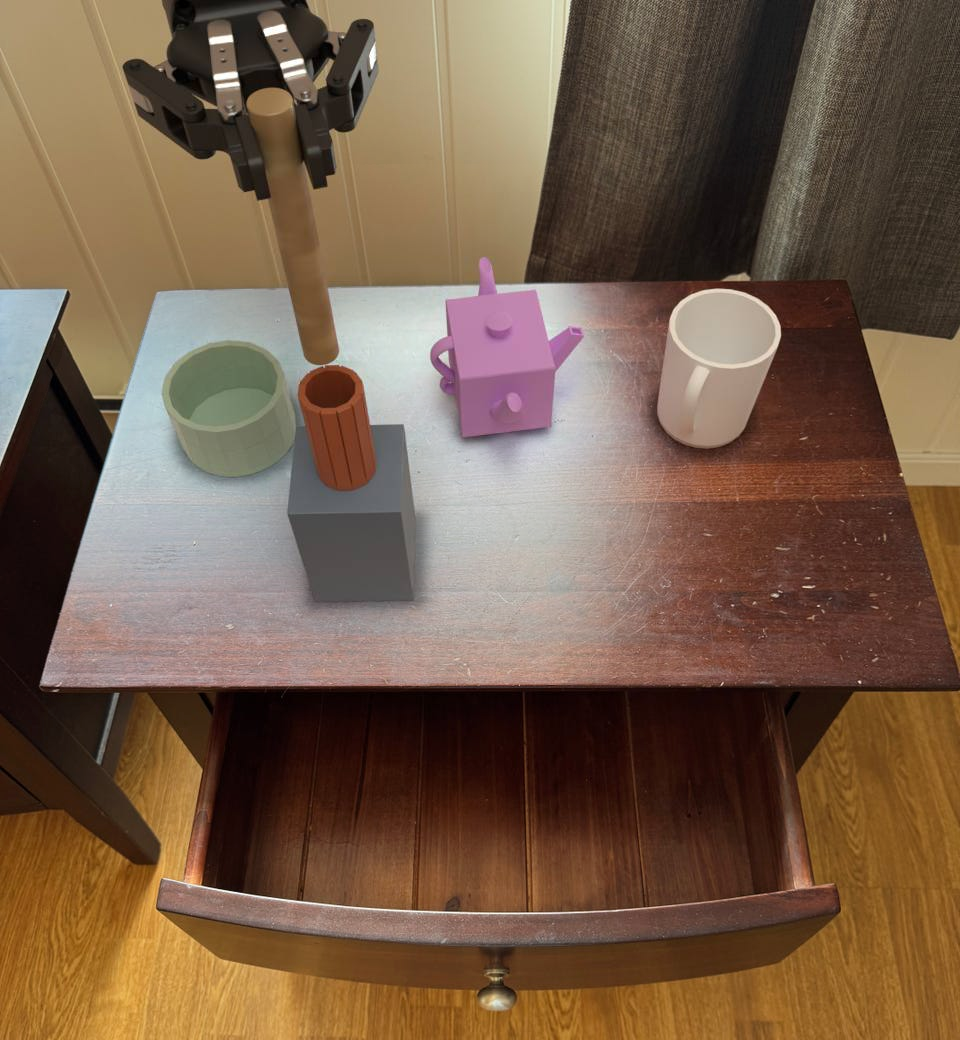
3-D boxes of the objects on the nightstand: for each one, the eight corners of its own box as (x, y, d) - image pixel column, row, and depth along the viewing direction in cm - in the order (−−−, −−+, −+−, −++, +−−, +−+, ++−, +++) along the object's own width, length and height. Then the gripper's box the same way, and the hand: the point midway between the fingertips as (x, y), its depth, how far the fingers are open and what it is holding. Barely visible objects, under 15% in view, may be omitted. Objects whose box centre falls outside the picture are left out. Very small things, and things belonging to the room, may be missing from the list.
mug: (674, 365, 90) (694, 275, 81) (765, 399, 88) (796, 310, 79) (625, 447, 85) (641, 361, 76) (721, 484, 83) (748, 401, 74)
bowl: (175, 479, 84) (153, 433, 79) (190, 389, 89) (171, 341, 84) (291, 476, 84) (278, 430, 79) (300, 387, 89) (288, 338, 84)
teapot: (596, 469, 84) (608, 390, 76) (446, 488, 83) (441, 410, 75) (559, 322, 93) (565, 236, 84) (423, 338, 92) (415, 253, 83)
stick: (302, 366, 59) (243, 115, 45) (305, 340, 60) (248, 87, 46) (338, 365, 59) (290, 114, 45) (340, 339, 60) (294, 86, 46)
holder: (314, 602, 78) (262, 438, 61) (321, 521, 82) (273, 344, 64) (413, 600, 78) (390, 435, 60) (415, 519, 82) (393, 342, 64)
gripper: (78, -68, 50) (116, 130, 42) (341, -110, 52) (426, 72, 44) (126, 76, 56) (167, 272, 48) (358, 35, 58) (434, 217, 50)
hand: (289, 176), depth 46 cm, fingers closed on stick, 2 cm apart
